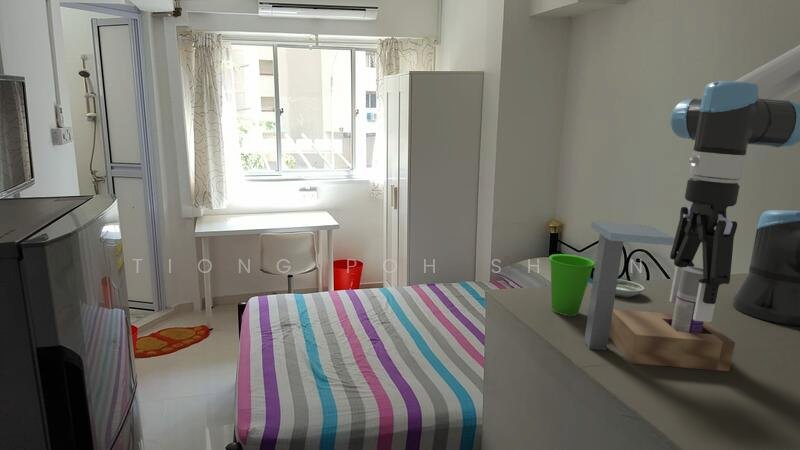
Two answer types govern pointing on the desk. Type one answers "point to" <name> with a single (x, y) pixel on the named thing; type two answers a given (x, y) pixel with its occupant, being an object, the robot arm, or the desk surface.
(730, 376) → the desk surface
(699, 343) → the socket block
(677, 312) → the container
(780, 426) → the desk surface
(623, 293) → the saucer
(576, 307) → the cup
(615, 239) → the grey flat-topped post
